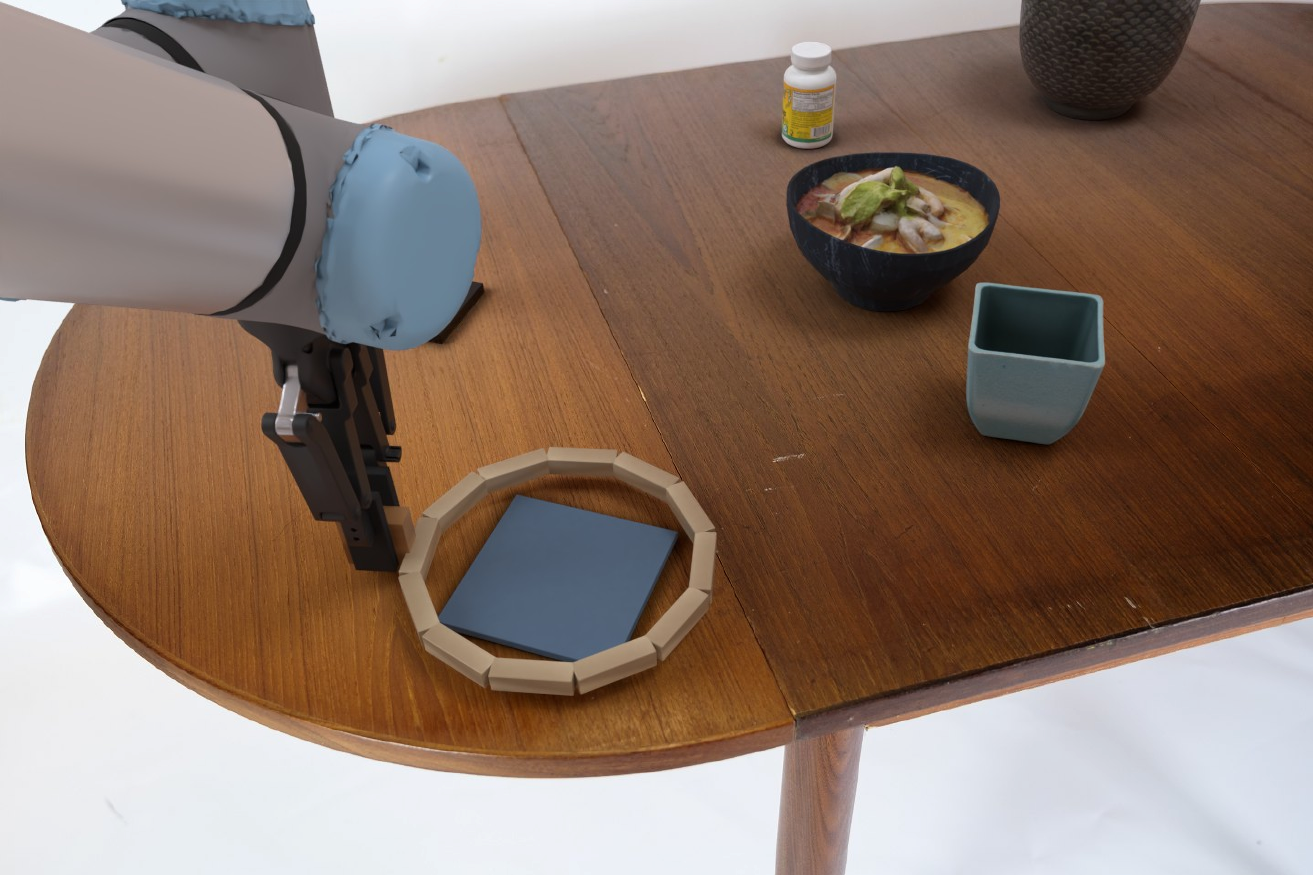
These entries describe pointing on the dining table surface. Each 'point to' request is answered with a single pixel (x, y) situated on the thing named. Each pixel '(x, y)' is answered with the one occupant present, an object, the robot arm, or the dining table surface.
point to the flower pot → (1032, 360)
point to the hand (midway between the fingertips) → (382, 553)
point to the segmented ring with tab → (536, 674)
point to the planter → (1101, 51)
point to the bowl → (891, 223)
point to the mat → (559, 580)
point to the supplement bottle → (809, 96)
